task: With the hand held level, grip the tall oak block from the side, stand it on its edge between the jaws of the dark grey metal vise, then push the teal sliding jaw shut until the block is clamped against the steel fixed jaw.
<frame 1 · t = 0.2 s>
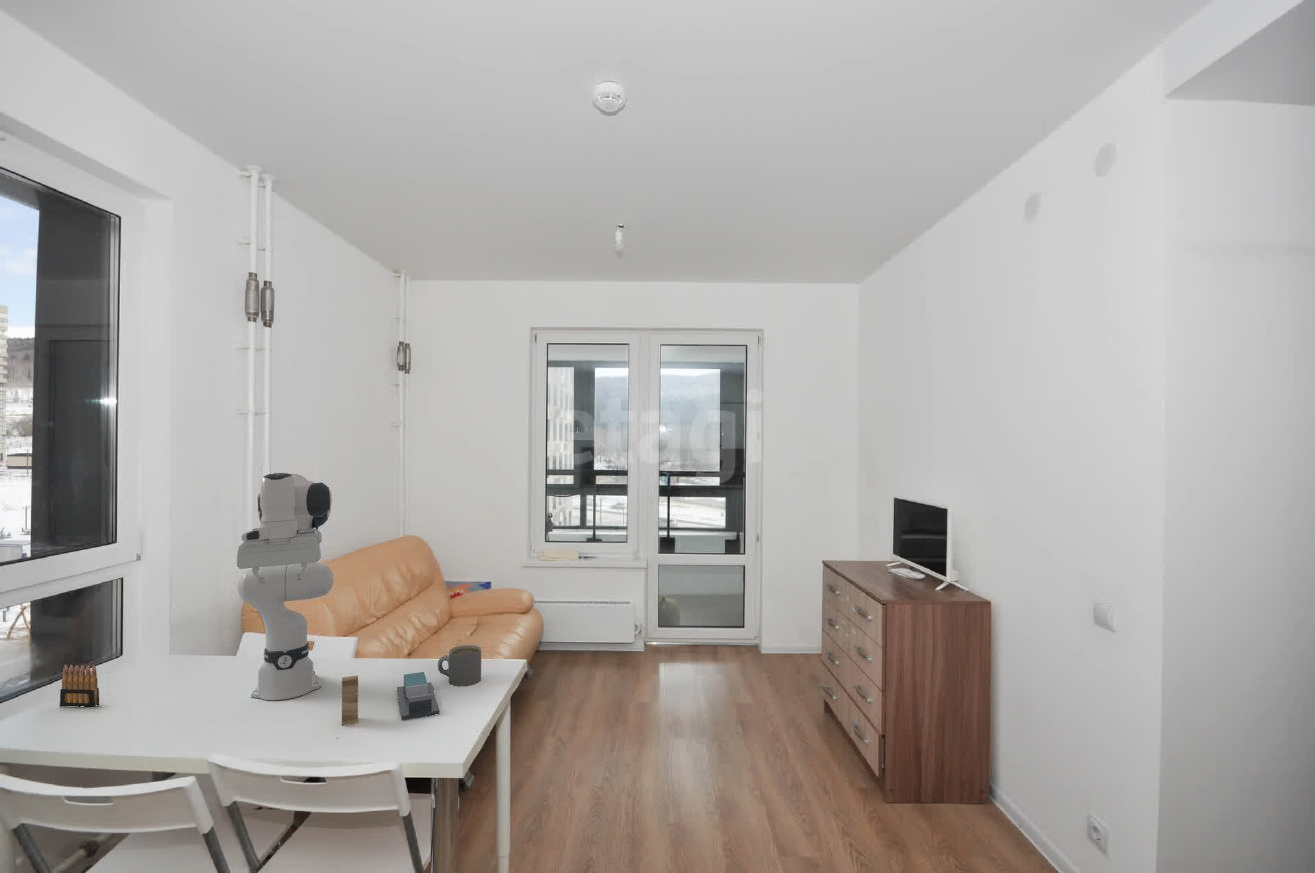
hand: (280, 581, 183), 38 cm above the table, tool pointing down, fingers open, 8 cm apart
oak block: (349, 721, 182), on the table
ammunition clip: (79, 706, 193), on the table
sliding jaw: (415, 684, 202), point 3 cm above the table, slide at 4.0 cm
vise: (418, 708, 191), on the table
coffee mug: (460, 681, 213), on the table
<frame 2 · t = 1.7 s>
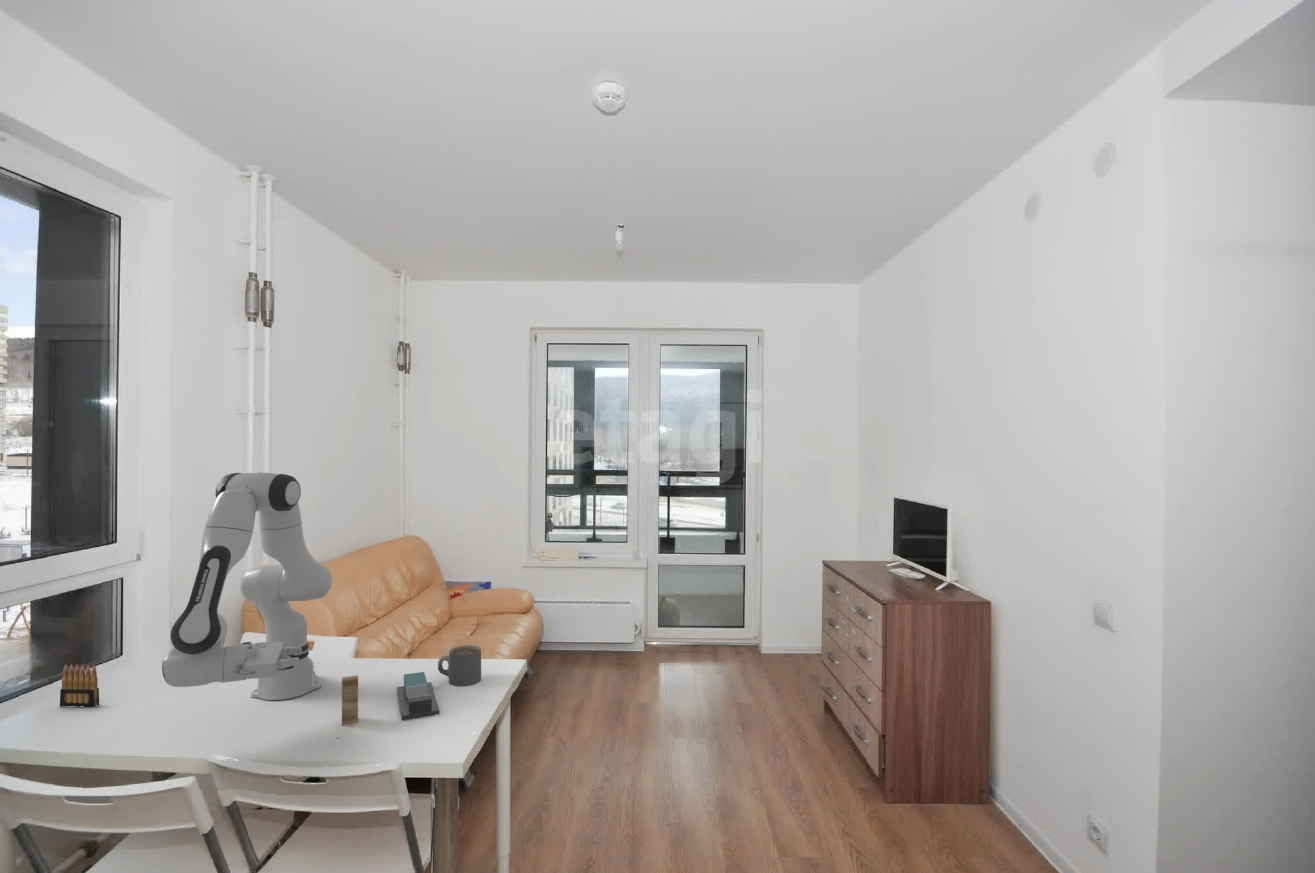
hand: (300, 655, 177), 20 cm above the table, tool horizontal, fingers open, 8 cm apart
nothing on the table moved.
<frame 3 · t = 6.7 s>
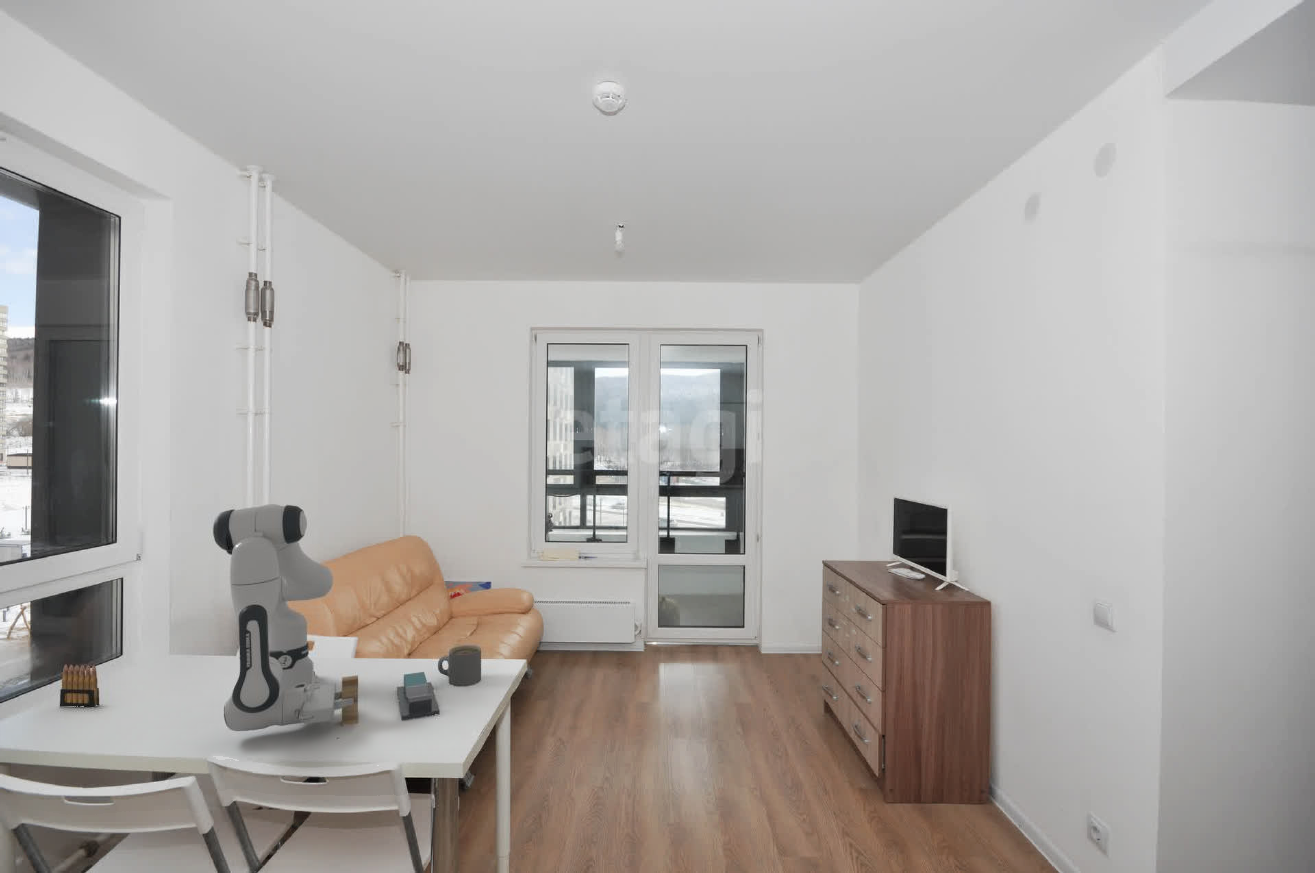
hand: (353, 697, 182), 7 cm above the table, tool horizontal, fingers closed on oak block, 3 cm apart
oak block: (349, 721, 182), on the table, touching gripper
everything else where it was.
when the fingers open (9 cm above the table, at t = 13.2 s): oak block stays where it is, resting on vise.
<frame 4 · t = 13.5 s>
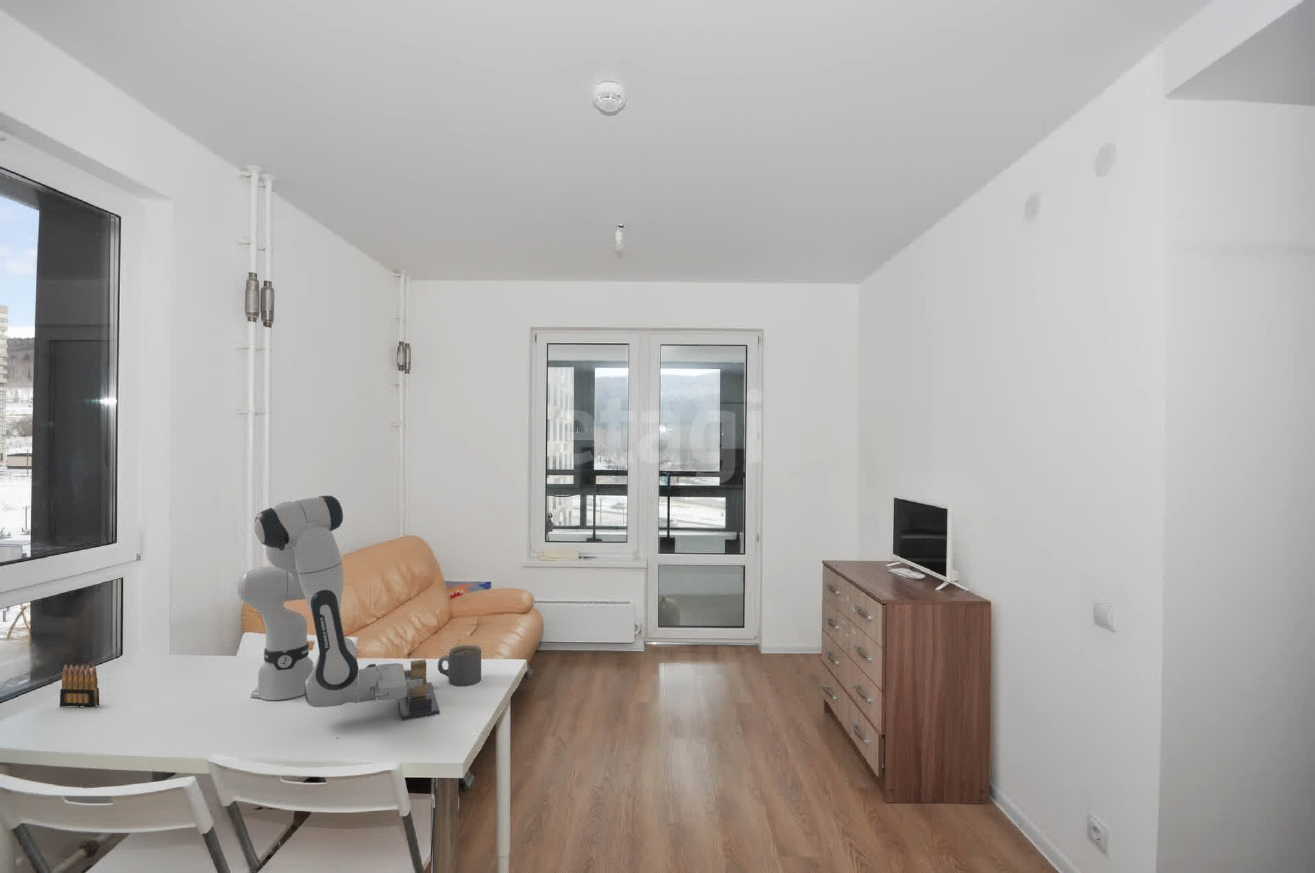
hand: (421, 677, 192), 9 cm above the table, tool horizontal, fingers open, 6 cm apart
oak block: (418, 703, 192), point 1 cm above the table, touching vise
everything else where it was.
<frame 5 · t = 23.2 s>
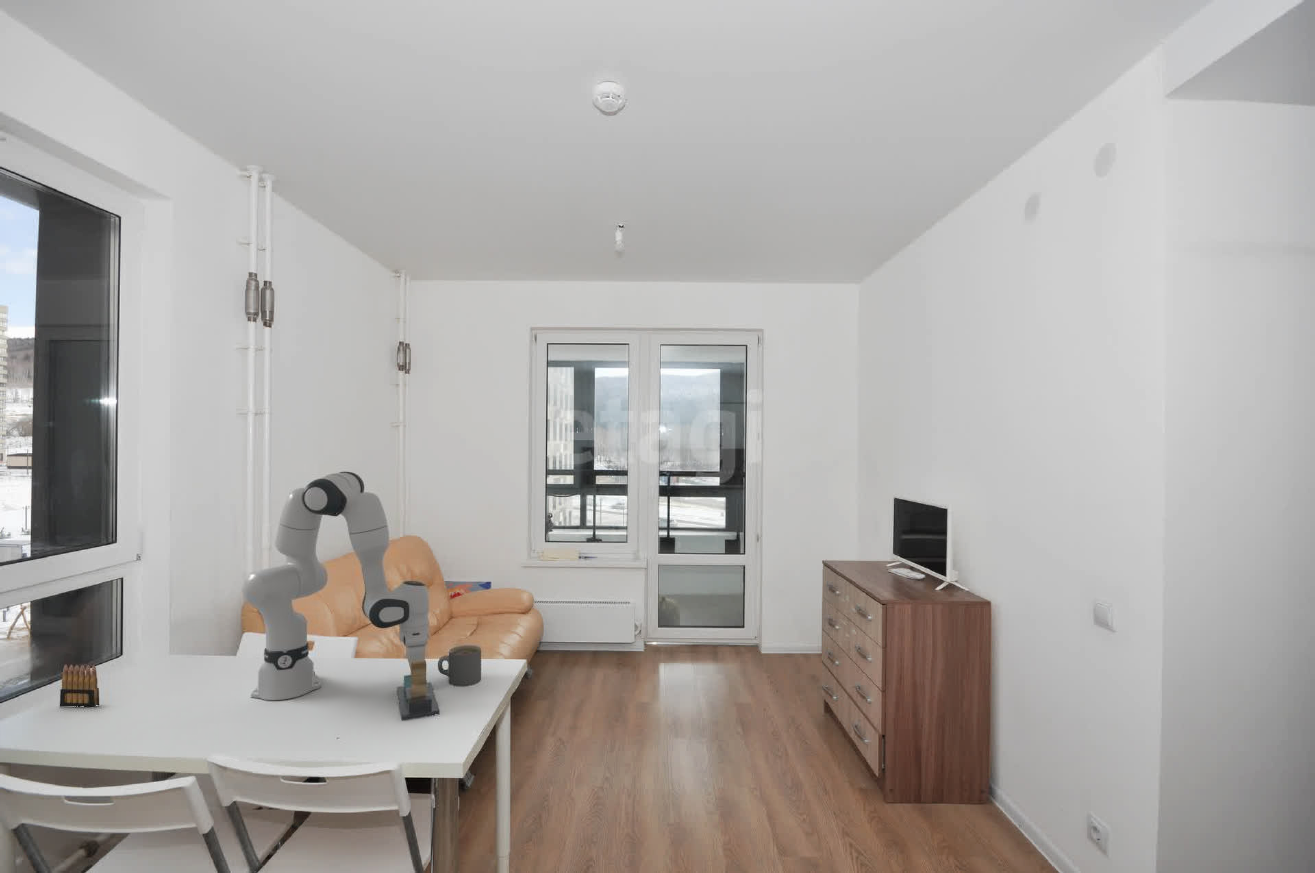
hand: (414, 677, 208), 3 cm above the table, tool pointing down, fingers closed
sliding jaw: (415, 685, 201), point 3 cm above the table, slide at 2.9 cm, touching gripper
everything else where it was.
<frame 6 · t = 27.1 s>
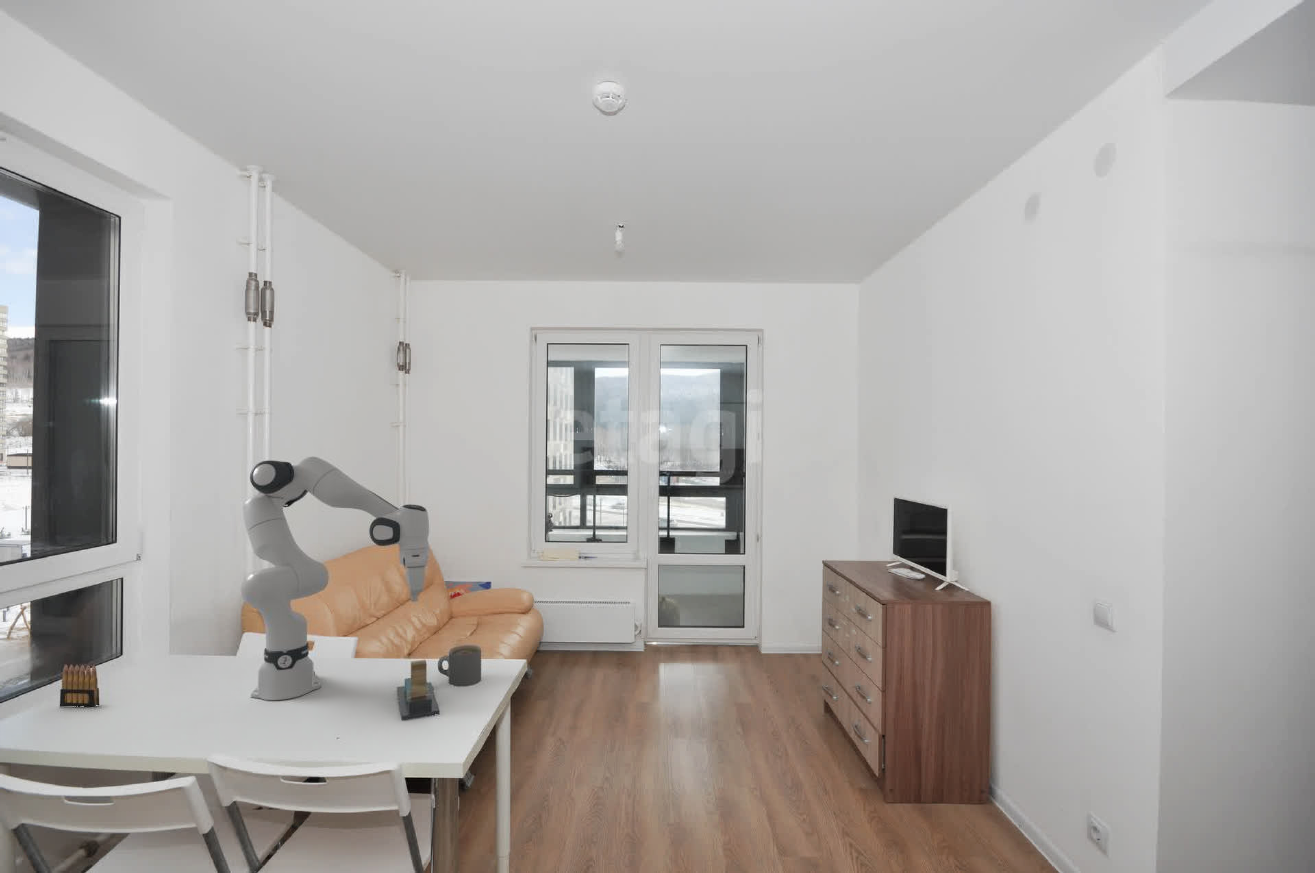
hand: (414, 600, 208), 27 cm above the table, tool pointing down, fingers closed
oak block: (418, 704, 191), point 1 cm above the table, touching sliding jaw, vise
sliding jaw: (416, 688, 198), point 3 cm above the table, slide at 0.0 cm, touching oak block
everything else where it was.
at the end: sliding jaw slide at 0.0 cm; sliding jaw touching oak block; oak block tilted 0° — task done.
